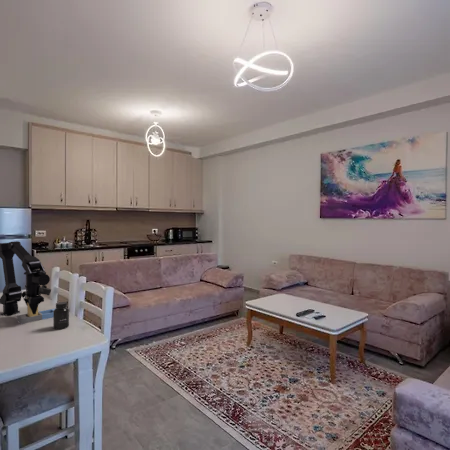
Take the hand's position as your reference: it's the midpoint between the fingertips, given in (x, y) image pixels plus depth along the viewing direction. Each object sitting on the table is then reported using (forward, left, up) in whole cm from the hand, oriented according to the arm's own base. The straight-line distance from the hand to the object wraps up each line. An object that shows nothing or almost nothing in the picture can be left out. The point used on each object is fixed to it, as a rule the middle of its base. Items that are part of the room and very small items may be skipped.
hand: (32, 312), depth 164 cm
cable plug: (0, 0, -3) cm, 3 cm away
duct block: (+2, +3, -3) cm, 5 cm away
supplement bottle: (+23, -8, -4) cm, 24 cm away
